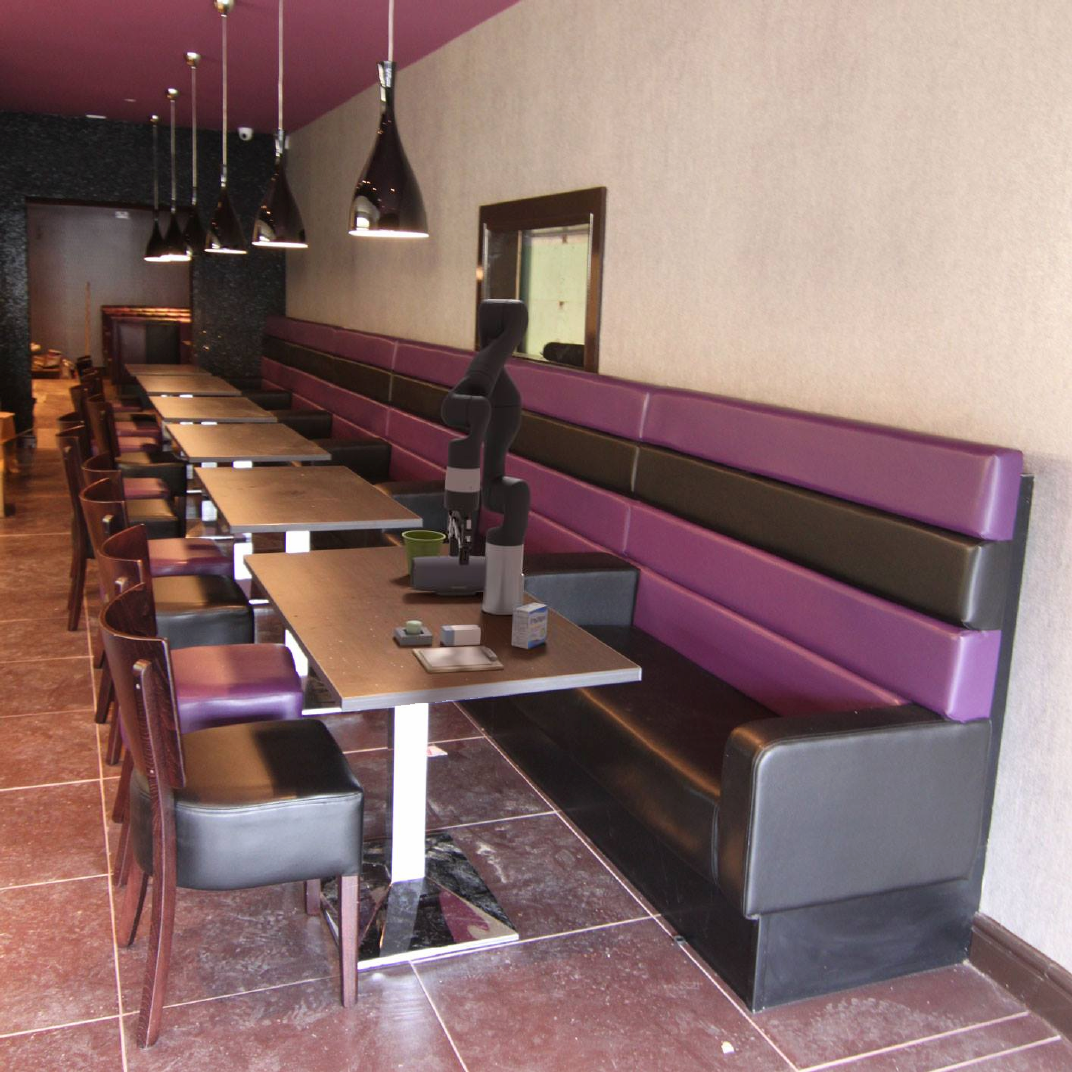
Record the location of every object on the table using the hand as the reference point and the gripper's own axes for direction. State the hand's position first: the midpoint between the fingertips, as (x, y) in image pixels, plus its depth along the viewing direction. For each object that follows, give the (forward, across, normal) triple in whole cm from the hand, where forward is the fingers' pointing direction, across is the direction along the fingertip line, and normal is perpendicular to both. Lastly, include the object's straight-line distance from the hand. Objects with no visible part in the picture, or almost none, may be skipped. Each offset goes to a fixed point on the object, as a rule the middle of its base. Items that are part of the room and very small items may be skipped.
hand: (458, 560), depth 245 cm
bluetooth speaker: (+19, +40, -10) cm, 46 cm away
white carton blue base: (+19, -1, -1) cm, 19 cm away
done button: (+17, +2, +9) cm, 19 cm away
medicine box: (+19, -4, -16) cm, 25 cm away
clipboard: (+18, -13, +3) cm, 23 cm away
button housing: (+18, +2, +9) cm, 21 cm away
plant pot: (+19, +60, -6) cm, 63 cm away
